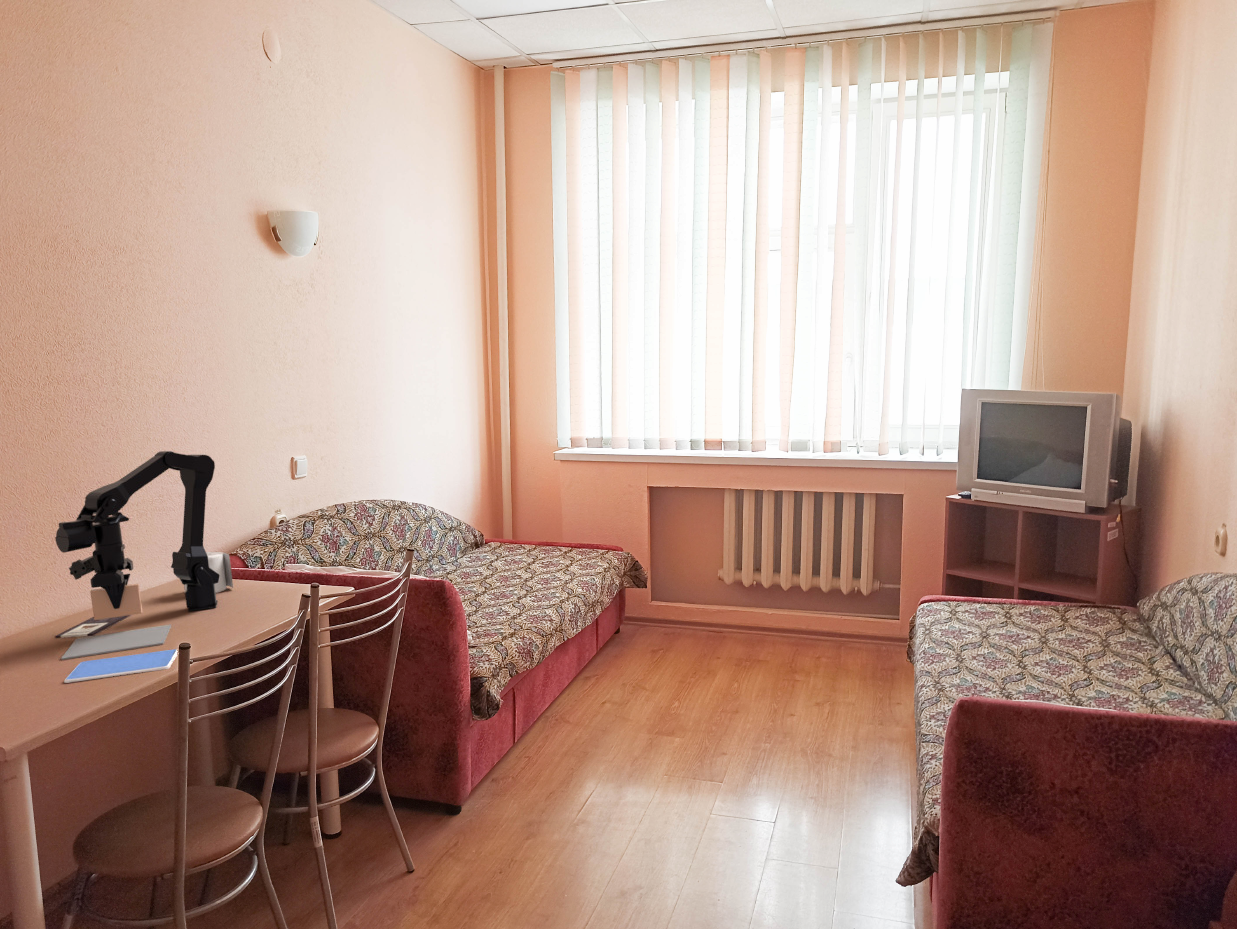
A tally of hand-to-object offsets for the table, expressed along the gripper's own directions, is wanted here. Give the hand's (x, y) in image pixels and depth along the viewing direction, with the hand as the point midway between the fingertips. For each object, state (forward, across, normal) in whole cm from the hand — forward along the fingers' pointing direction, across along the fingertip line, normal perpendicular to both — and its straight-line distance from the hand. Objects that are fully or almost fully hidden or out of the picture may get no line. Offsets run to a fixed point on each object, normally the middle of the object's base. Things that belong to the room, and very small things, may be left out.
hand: (117, 607), depth 216 cm
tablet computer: (+7, +31, +5) cm, 32 cm away
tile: (+2, 0, 0) cm, 2 cm away
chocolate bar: (+6, -10, -7) cm, 14 cm away
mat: (+6, +10, +1) cm, 12 cm away
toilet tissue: (+6, -32, +17) cm, 37 cm away
